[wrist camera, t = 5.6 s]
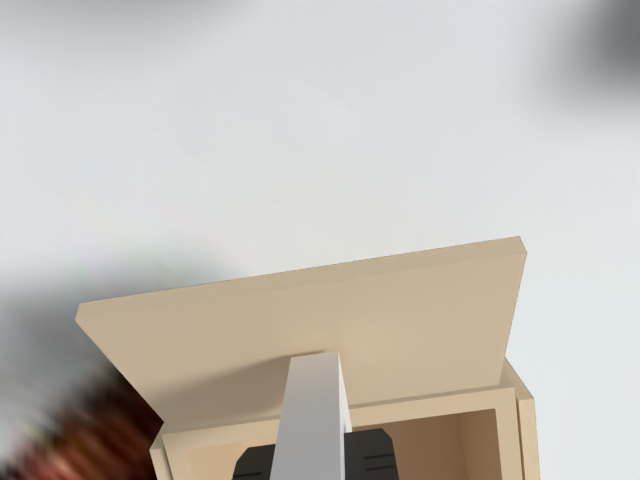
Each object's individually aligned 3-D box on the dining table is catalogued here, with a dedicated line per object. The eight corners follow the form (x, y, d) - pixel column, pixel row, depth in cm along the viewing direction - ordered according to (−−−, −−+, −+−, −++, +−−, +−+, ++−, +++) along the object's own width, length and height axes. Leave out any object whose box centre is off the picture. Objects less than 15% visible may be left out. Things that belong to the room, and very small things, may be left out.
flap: (172, 414, 21) (79, 302, 15) (493, 369, 20) (519, 235, 14) (170, 429, 20) (74, 320, 15) (498, 384, 19) (527, 252, 14)
